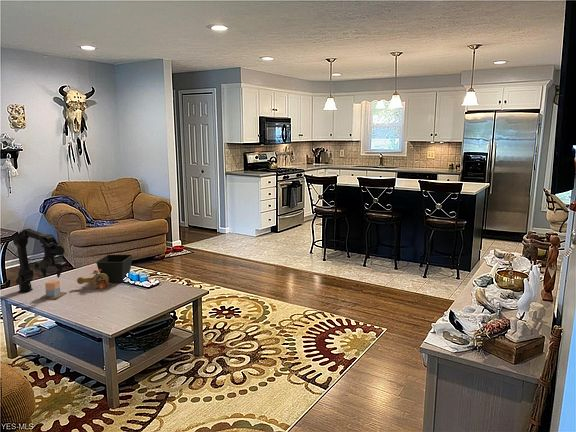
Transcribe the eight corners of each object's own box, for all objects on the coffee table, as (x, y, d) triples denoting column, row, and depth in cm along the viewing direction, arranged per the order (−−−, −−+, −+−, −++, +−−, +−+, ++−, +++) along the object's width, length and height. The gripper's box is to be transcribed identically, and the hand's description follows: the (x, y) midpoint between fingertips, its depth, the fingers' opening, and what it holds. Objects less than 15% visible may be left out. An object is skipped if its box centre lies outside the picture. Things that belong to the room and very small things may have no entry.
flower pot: (97, 284, 305) (95, 261, 302) (109, 275, 323) (107, 254, 320) (123, 284, 304) (122, 262, 301) (134, 276, 323) (132, 254, 320)
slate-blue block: (46, 296, 279) (45, 289, 278) (52, 293, 285) (51, 286, 284) (54, 296, 279) (54, 290, 278) (60, 293, 284) (59, 286, 284)
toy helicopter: (107, 289, 294) (105, 270, 291) (75, 290, 292) (73, 271, 290) (110, 285, 302) (109, 267, 299) (80, 286, 300) (78, 267, 298)
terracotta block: (45, 289, 278) (45, 283, 277) (50, 286, 284) (50, 280, 283) (55, 289, 278) (54, 283, 277) (59, 286, 284) (59, 280, 283)
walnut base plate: (40, 299, 277) (40, 297, 277) (51, 292, 288) (51, 291, 288) (56, 299, 276) (56, 298, 276) (66, 293, 287) (66, 292, 287)
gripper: (27, 257, 270) (29, 280, 273) (55, 258, 268) (57, 282, 271) (39, 252, 281) (41, 275, 284) (65, 253, 279) (68, 276, 282)
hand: (51, 277), depth 280 cm, fingers open, 9 cm apart
